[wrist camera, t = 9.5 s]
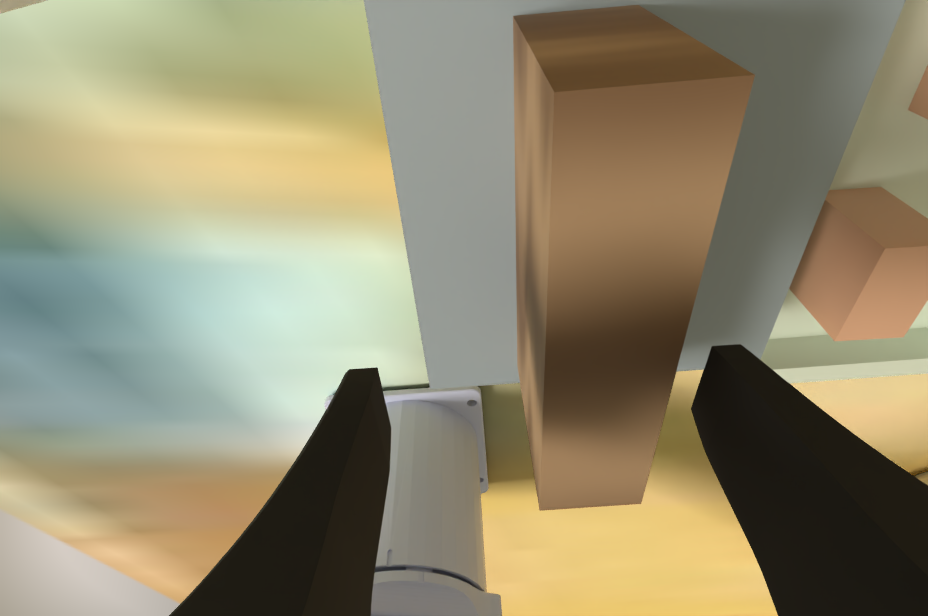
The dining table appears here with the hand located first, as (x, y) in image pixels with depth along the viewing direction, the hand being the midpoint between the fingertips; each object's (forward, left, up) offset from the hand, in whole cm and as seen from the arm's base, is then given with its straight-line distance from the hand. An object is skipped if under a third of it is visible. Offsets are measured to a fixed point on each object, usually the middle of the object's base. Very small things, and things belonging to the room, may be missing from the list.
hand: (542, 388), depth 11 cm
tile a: (-3, -12, -8) cm, 14 cm away
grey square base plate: (0, -3, -10) cm, 11 cm away
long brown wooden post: (0, -2, -6) cm, 7 cm away
